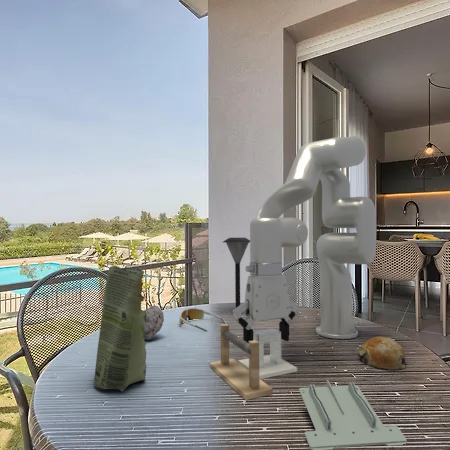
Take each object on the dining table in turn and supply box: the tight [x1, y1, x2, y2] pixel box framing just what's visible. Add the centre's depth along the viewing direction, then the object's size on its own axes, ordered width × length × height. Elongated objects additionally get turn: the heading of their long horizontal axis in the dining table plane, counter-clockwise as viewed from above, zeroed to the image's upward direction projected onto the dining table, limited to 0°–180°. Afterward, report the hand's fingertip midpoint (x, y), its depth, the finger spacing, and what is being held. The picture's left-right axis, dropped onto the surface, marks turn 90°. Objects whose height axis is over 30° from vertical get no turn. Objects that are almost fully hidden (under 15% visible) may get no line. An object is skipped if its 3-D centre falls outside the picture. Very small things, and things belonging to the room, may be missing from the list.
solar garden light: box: [222, 237, 250, 308], centre depth 135 cm, size 12×12×30 cm
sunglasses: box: [179, 307, 227, 333], centre depth 119 cm, size 14×15×5 cm
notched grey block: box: [253, 328, 282, 368], centre depth 81 cm, size 6×3×8 cm, turn 115°
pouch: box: [93, 264, 147, 392], centre depth 73 cm, size 11×12×25 cm
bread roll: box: [357, 336, 406, 371], centre depth 83 cm, size 10×10×8 cm
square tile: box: [237, 354, 298, 380], centre depth 81 cm, size 10×10×1 cm
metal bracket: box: [298, 379, 408, 450], centre depth 57 cm, size 14×6×15 cm
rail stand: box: [209, 323, 274, 401], centre depth 74 cm, size 18×6×10 cm, turn 25°
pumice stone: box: [143, 305, 165, 341], centre depth 103 cm, size 10×8×10 cm
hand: (266, 342), depth 81 cm, fingers open, 9 cm apart
